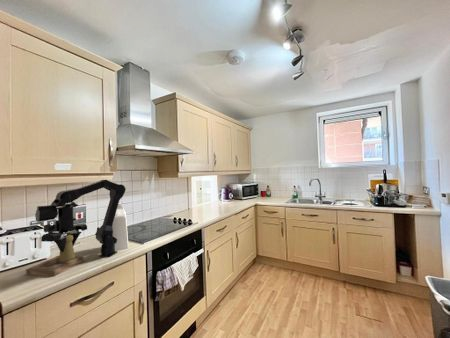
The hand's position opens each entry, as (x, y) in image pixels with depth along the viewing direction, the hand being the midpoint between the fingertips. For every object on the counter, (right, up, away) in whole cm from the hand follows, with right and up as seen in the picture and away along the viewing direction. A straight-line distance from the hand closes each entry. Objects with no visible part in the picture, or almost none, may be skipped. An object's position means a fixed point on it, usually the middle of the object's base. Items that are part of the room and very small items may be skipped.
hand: (66, 250), depth 95 cm
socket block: (-6, -9, +2) cm, 12 cm away
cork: (0, -4, 0) cm, 4 cm away
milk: (+9, -9, +27) cm, 30 cm away
